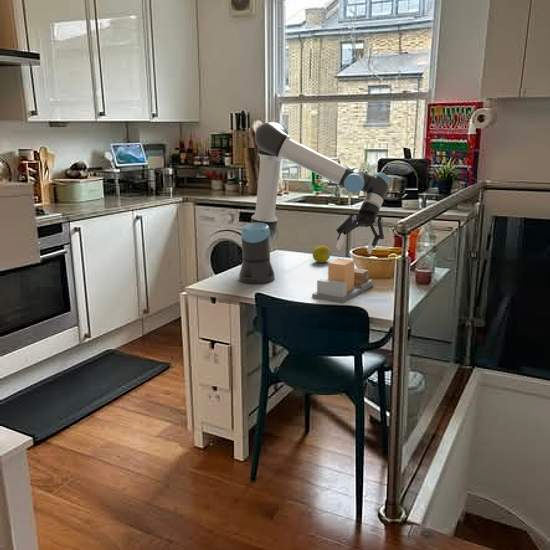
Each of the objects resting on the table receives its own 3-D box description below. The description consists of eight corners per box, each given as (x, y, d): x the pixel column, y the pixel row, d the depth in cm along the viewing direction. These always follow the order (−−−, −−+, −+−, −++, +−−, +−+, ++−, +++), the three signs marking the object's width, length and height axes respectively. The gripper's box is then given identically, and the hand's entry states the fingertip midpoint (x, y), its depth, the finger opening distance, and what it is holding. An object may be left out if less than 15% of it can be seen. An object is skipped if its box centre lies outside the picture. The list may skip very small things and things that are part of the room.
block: (338, 285, 219) (338, 258, 216) (353, 287, 215) (354, 260, 212) (328, 290, 213) (328, 262, 210) (344, 293, 209) (344, 265, 206)
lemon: (320, 265, 254) (320, 248, 252) (308, 262, 260) (308, 246, 258) (335, 261, 261) (336, 245, 259) (323, 258, 267) (324, 242, 265)
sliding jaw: (346, 278, 227) (346, 266, 226) (368, 282, 222) (368, 270, 220) (340, 281, 223) (340, 269, 222) (362, 285, 218) (362, 273, 216)
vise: (344, 280, 230) (344, 265, 228) (373, 285, 223) (373, 270, 221) (312, 297, 209) (312, 281, 208) (342, 303, 202) (342, 286, 200)
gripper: (402, 215, 220) (384, 259, 213) (346, 210, 234) (328, 251, 227) (397, 203, 215) (379, 248, 207) (340, 199, 229) (322, 241, 221)
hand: (352, 250), depth 217 cm, fingers open, 13 cm apart
